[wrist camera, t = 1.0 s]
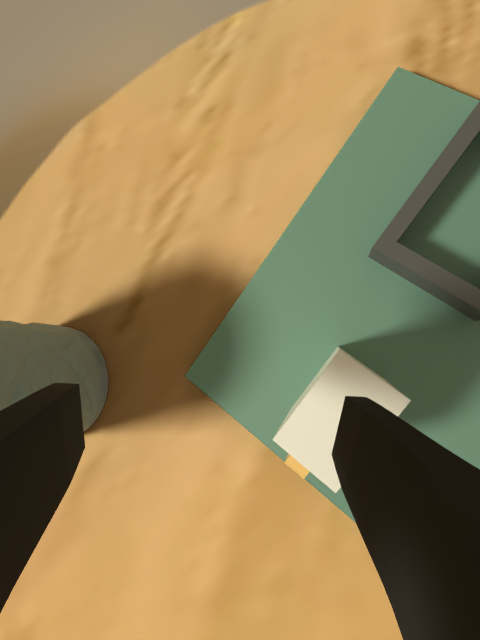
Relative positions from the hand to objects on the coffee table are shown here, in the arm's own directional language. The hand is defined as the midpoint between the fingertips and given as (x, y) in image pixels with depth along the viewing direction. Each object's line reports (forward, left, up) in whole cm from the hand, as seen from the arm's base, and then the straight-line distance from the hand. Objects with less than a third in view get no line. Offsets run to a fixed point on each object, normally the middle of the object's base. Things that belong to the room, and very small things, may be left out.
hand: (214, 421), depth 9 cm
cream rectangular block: (-3, -1, -11) cm, 11 cm away
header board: (-3, -7, -12) cm, 14 cm away
